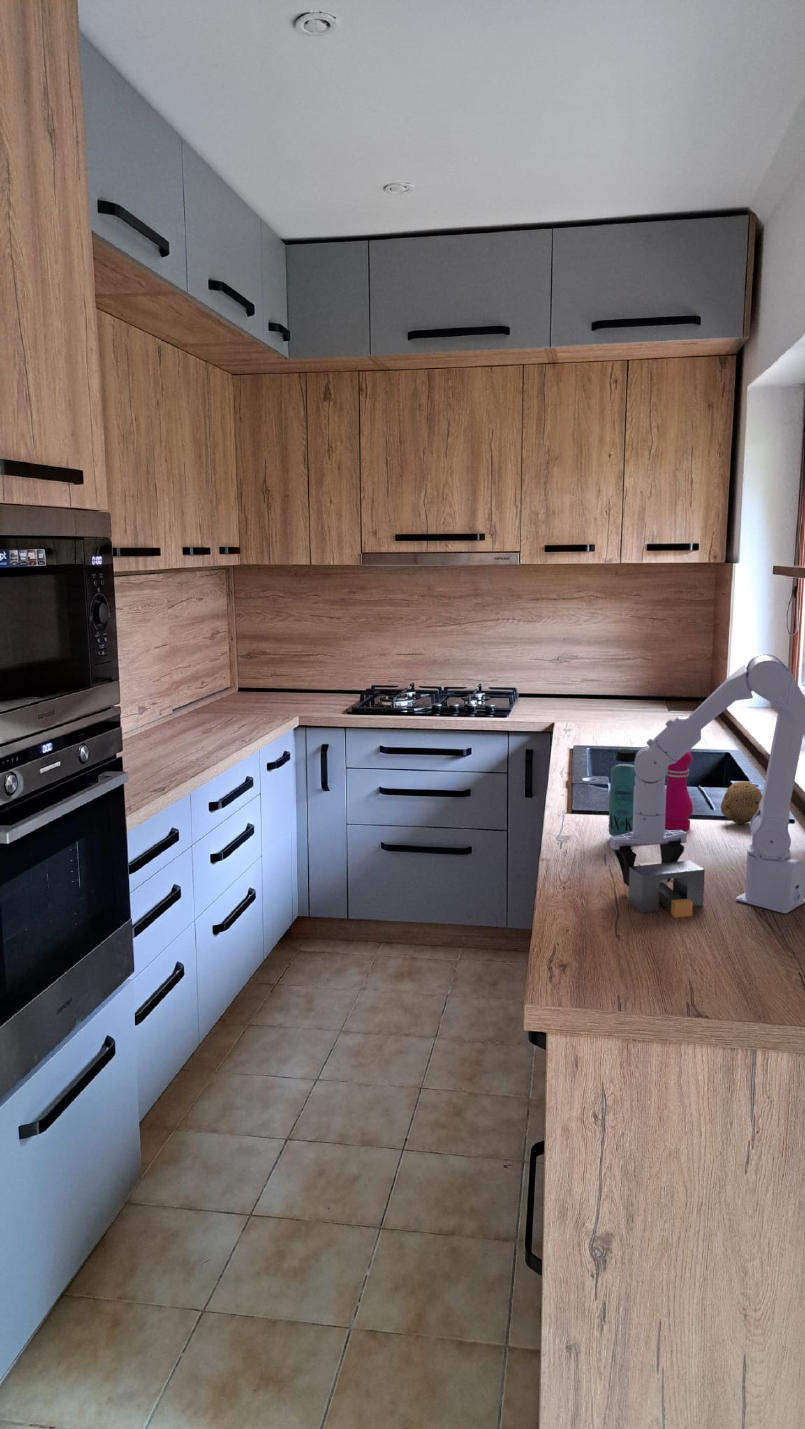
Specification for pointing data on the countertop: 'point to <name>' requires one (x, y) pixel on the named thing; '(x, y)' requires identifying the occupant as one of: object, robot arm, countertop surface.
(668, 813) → the pepper mill
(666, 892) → the plug
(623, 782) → the beverage bottle
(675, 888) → the housing
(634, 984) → the countertop surface
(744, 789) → the natural sponge
